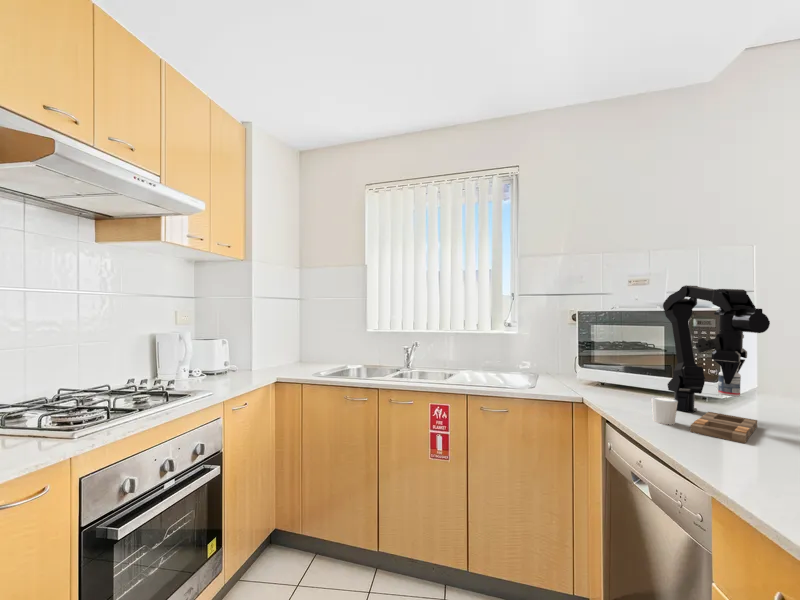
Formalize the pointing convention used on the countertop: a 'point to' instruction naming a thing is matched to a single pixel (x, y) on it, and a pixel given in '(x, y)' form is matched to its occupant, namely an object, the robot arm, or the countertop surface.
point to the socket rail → (724, 426)
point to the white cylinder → (664, 410)
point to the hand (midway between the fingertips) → (729, 383)
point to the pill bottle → (729, 385)
